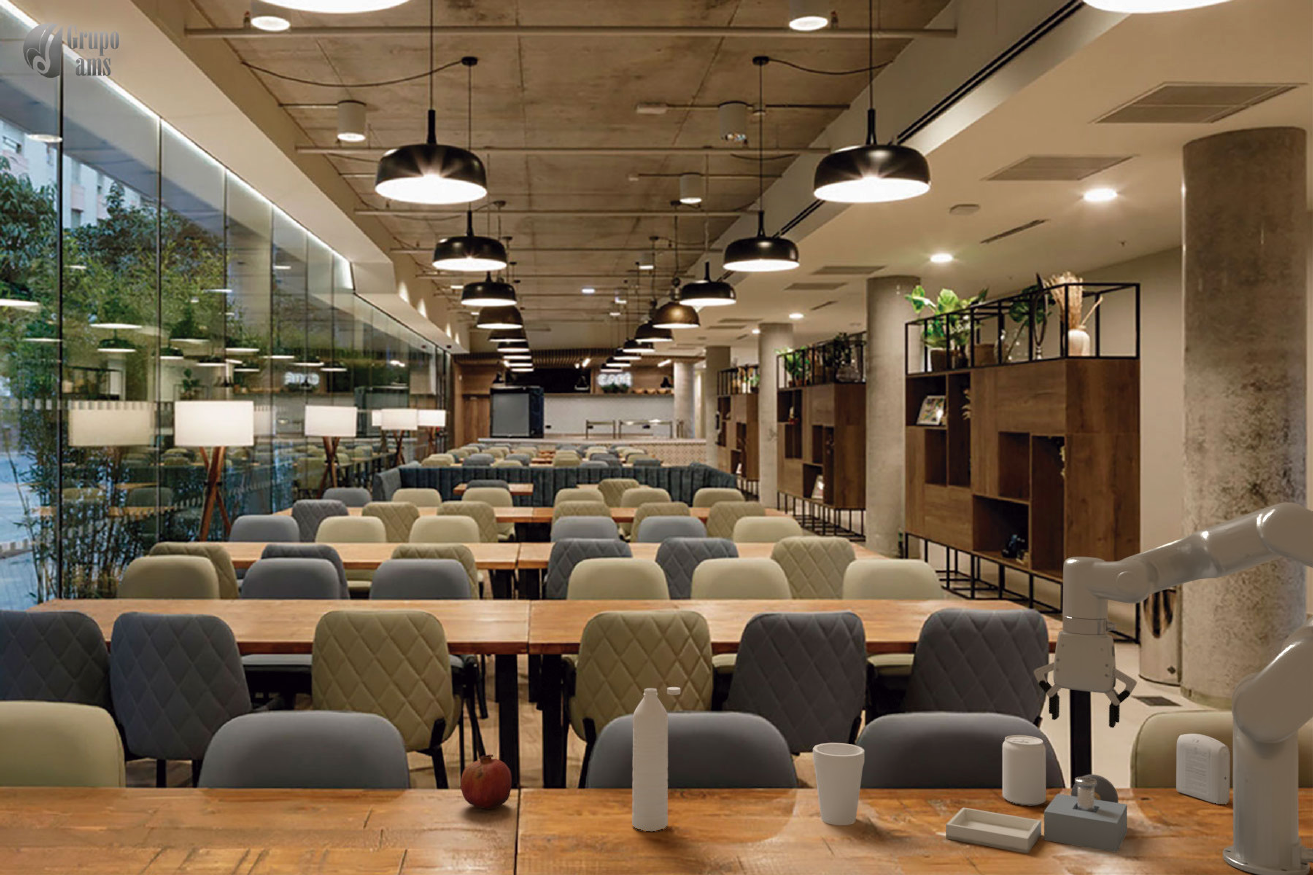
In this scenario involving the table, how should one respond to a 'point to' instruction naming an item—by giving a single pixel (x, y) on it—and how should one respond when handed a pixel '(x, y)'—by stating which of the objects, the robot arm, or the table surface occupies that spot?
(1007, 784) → the beverage can
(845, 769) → the foam cup
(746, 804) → the table surface
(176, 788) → the table surface
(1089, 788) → the lock pin
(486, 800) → the fruit
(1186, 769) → the photo printer
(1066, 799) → the tensioner block
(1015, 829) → the tray
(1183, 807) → the table surface
